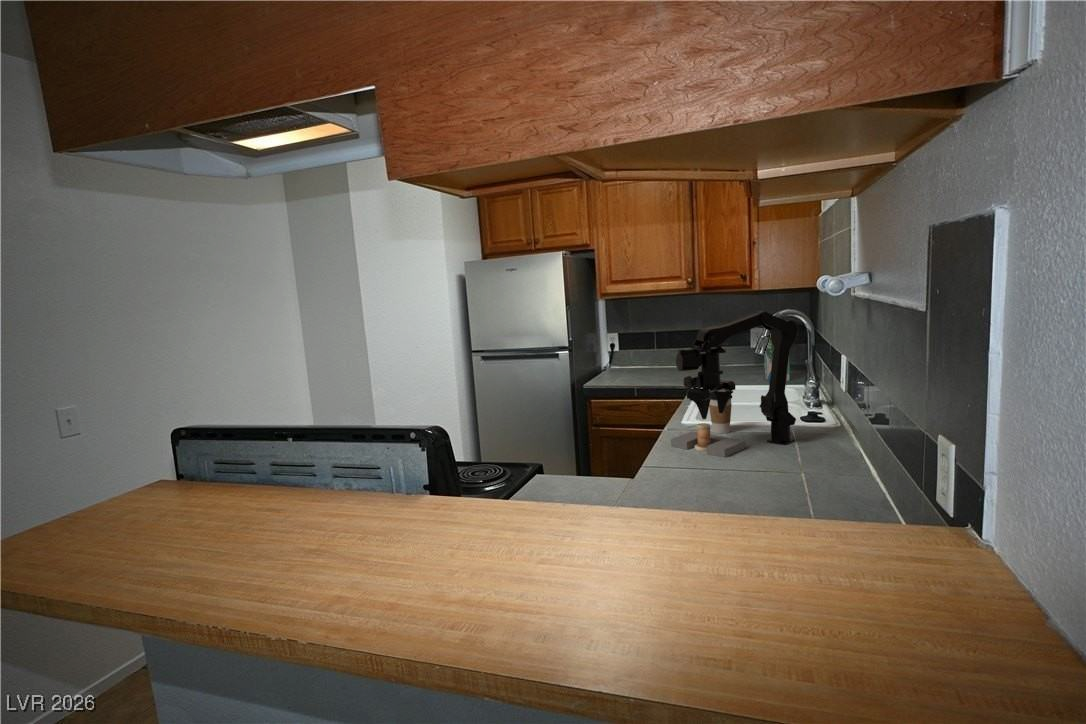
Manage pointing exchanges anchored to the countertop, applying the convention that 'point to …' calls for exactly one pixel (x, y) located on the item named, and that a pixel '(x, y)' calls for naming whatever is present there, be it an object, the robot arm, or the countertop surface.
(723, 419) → the coffee cup
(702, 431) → the spool
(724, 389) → the robot arm
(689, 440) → the gray u-shaped block
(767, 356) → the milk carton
